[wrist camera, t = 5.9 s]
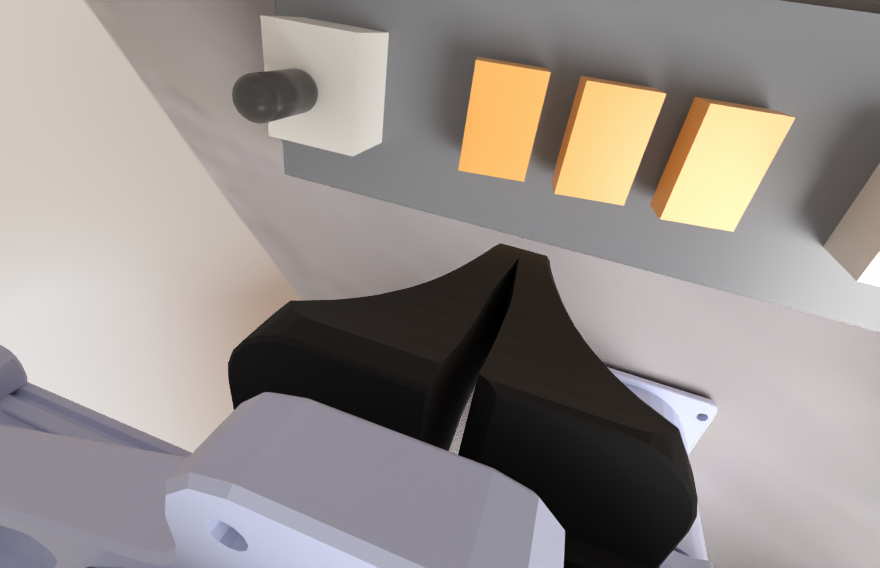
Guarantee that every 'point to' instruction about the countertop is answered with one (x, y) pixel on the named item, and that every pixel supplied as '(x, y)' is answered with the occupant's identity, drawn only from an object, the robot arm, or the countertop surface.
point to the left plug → (318, 84)
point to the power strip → (682, 79)
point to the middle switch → (605, 139)
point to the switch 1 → (502, 118)
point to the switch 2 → (718, 163)
